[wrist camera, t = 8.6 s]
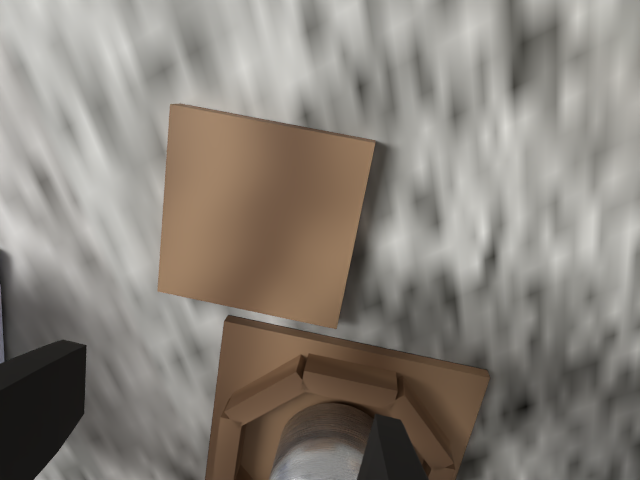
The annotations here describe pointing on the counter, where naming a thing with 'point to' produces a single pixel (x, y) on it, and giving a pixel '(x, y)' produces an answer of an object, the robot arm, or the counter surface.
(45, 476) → the counter surface
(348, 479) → the silver metal canister
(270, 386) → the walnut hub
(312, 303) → the walnut stand
